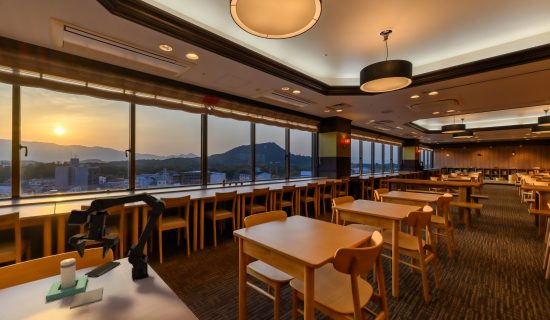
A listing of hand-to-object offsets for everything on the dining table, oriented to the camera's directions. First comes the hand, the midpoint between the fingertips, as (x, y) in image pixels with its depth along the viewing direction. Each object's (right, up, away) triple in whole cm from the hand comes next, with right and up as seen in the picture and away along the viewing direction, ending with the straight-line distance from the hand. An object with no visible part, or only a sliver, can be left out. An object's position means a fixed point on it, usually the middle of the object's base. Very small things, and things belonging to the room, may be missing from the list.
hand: (92, 258), depth 109 cm
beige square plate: (+5, -13, -10) cm, 17 cm away
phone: (-6, -13, +15) cm, 21 cm away
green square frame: (-9, -13, -3) cm, 16 cm away
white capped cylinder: (-9, -13, -3) cm, 16 cm away
